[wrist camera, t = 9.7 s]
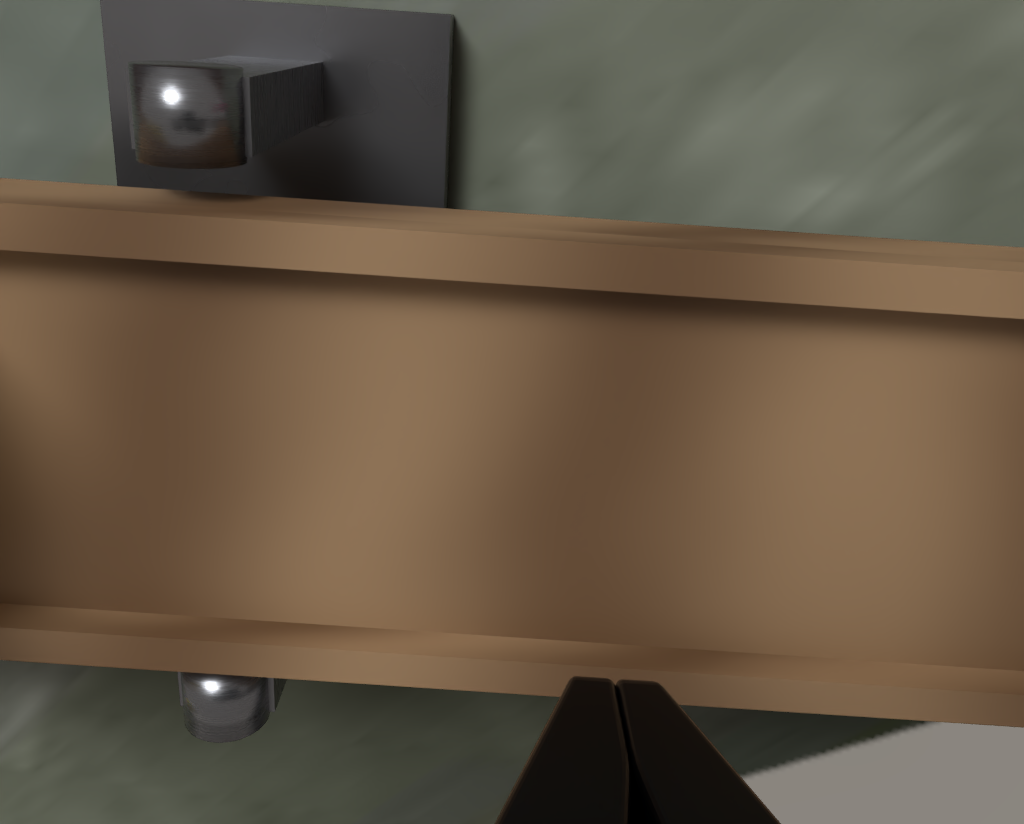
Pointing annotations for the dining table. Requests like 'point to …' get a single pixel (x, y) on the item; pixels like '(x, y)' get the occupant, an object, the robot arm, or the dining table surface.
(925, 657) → the balance beam
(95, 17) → the dining table surface
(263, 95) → the stand
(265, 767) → the dining table surface
